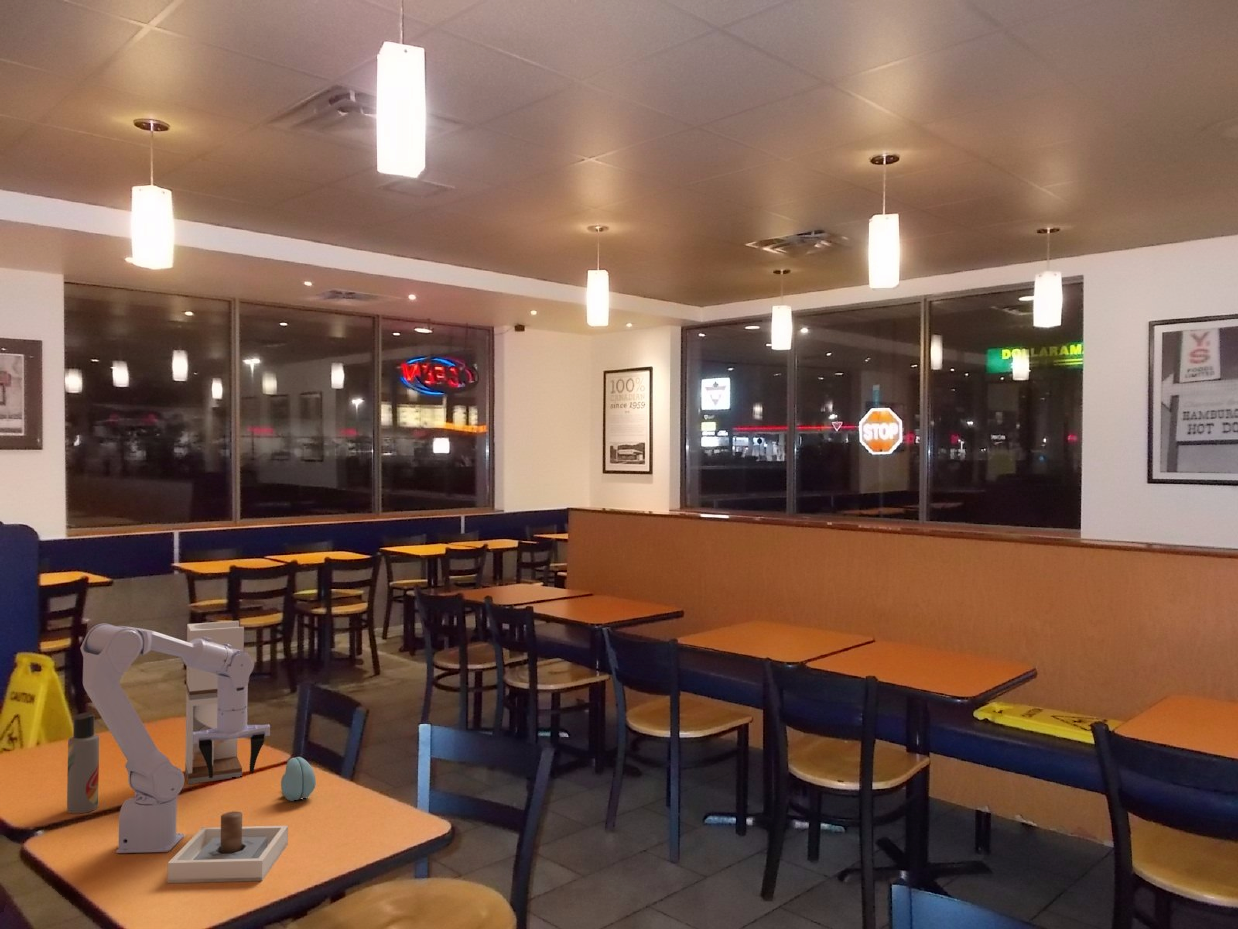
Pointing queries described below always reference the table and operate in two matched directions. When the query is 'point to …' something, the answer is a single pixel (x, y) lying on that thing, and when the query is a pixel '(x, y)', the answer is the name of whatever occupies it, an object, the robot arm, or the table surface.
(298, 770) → the toy flower bud
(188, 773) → the tall white shelf
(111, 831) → the table surface
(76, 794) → the lotion bottle
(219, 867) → the box
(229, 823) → the peg
